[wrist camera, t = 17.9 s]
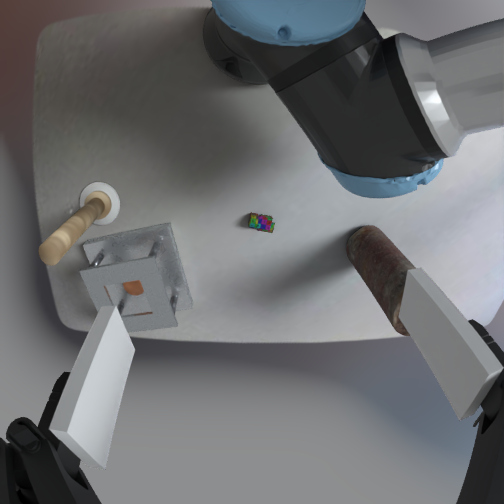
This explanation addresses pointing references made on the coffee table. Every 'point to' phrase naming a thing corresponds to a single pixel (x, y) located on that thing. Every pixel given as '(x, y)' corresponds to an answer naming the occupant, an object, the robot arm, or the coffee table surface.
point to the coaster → (110, 192)
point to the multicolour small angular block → (261, 222)
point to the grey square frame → (138, 276)
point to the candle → (381, 270)
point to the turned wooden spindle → (75, 227)
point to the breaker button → (133, 287)
